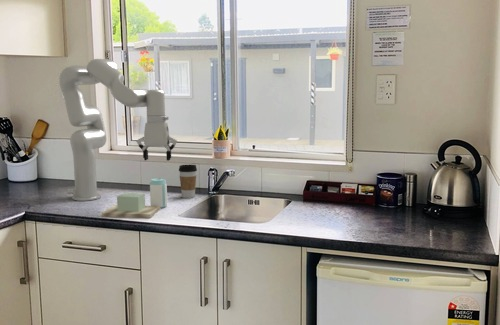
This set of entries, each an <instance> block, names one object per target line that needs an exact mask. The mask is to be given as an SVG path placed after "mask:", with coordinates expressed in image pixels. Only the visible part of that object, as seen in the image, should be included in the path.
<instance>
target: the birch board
mask: <svg viewBox="0 0 500 325" xmlns="http://www.w3.org/2000/svg"><path fill="white" fill-rule="evenodd" d="M159 211H161V208H160V206H151V205H145V208H144V209H142V210H141V211H139V212H130V211H118V209H117V204H113V205H112V206H110V207H109V208H107V209H105V210H103V212H101V217H103V218H104V217H105V218H132V219H134V218H135V219H136V218H137V219H138V218H139V219H141V218H142V219H151V218H152V217H154V214H155V213H156V214H157V213H158V212H159ZM156 214H155V215H156Z"/></svg>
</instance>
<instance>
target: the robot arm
mask: <svg viewBox="0 0 500 325" xmlns="http://www.w3.org/2000/svg"><path fill="white" fill-rule="evenodd" d="M58 79H59V82H58V83H59V87H60V89H61V93H62V97H63V100H64V103H65V108H66V113H67V117H68V121H69V124H70V125H71V126H73V127H76V128H81V127H86V128H83V129H78V130H75V131H74V132H73V133H71V135H70V140H69V141H70V147H71V152H72V157H73V170H74V171H73V172H74V188H67V194H69V195H70V194H71V195H72V196H71V199H72V200H74V201H79V202H80V201H84V202H85V201H93V200H98V199H100V198H101V194H100V193H98V188H97V186H98V185H97V164H96V157H95V154H94V152H93V150H95V149H101V148H103V147H104V146H105V145H106V143H107V133H106V128H105V124H104V119H103V115H102V113H101V110H100V109H99V108H98V107H97V106H96V105H93V104H87V103H86V100H85V96H84V93H83V91H82V90H81V89H80V88H79V86H87V85H89V86H91V85H96V84H102V85H103V86H105V87H106V88H107V89H109V91H110V94H111V95H112V98H114V99H115V101H118V102H119V103H120V104H122V105H123V106H124V107H127V108H130V109H131V108H133V109H134V108H146V122H145V126H144V130H143V131H144V132H143V136H142V137H140V138H138V139H137V140H136V143H137V145H138V147H139V148H140V149H141V150H142V156H143V159H144V161H147V160H149V150H148V148H150V147H151V148H153V147H154V148H155V147H157V148H158V147H159V148H160V147H161V148H163V147H164V148H165V149H166V152H165V153H166V156H165V157H166V161H170V160H171V159H172V150H173V149H175V147H176V145H177V144H178V143H177V142H178V139H176V138H173V137H172V136H170V130H169V125H168V122H166V121H168V120H169V116H166V108H165V107H166V106H165V105H166V104H165V97H166V96H165V91H164V90H162V89H146V88H145V89H144V88H141V89H140V88H133V89H132V88H129V87H128V86H127V85H125V84H124V81H125V76H124V75H123V73H122V72H120V71H119V68H118V64H117V63H116V62H115V61H113V60H112V59H110V58H109V59H107V58H93V59H91V60H89V62H88V63H87V65H70V66H66V67H65V68H63V69H62V71H61V73H60V75H59V77H58ZM142 142H144V143H143V144H142ZM171 142H172V143H171Z"/></svg>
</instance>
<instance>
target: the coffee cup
mask: <svg viewBox="0 0 500 325" xmlns="http://www.w3.org/2000/svg"><path fill="white" fill-rule="evenodd" d="M197 171H198V169H197V165H196V164H181V165H179V168H178V172H179V181H180V183H179V184H180V191H181V197H182V198H183V199H193V198H195V197H196V185H197Z"/></svg>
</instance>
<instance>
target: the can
mask: <svg viewBox="0 0 500 325" xmlns="http://www.w3.org/2000/svg"><path fill="white" fill-rule="evenodd" d="M150 180H151V181H150V183H149V197H150V199H149V200H150V203H149V204H150V206H160V209H164V208H166V207H167V206H168V188H167V187H168V186H167V184H168V183H167V181H166V179H165V178H160V177H159V178H157V177H156V178H151V179H150ZM163 207H164V208H163Z"/></svg>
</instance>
